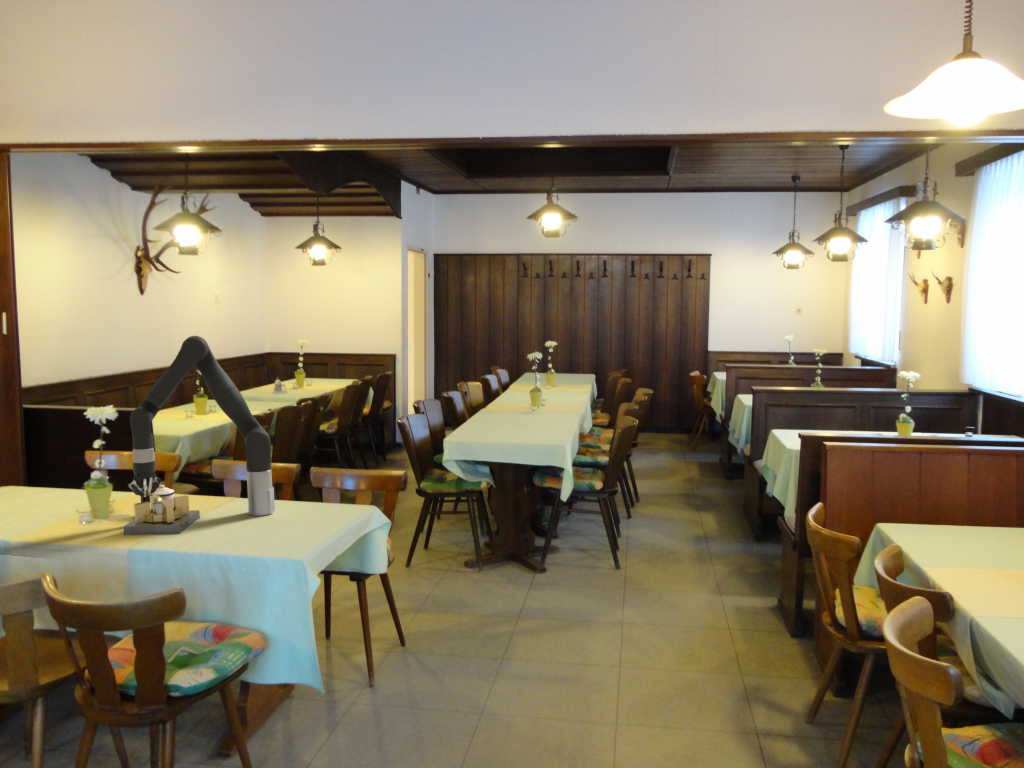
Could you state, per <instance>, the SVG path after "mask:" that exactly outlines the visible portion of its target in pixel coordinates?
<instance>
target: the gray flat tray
mask: <svg viewBox="0 0 1024 768" xmlns="http://www.w3.org/2000/svg"><path fill="white" fill-rule="evenodd" d="M164 502H170V503H171V501H169V500H162V501H156V502H154V503H153V513H154V514H163V511H162V503H164ZM200 513H201V512H200V509H197V510H196V509H195V510H193V509H192V510H189V513H187V514H182V516H181V517H179V518H177V519H174V522H169V523H167V522H165V521H163V522H147V521H143V522H135V518H134V519H133V520H131V521H130V522H128V523H127V524H124V526H123V535H125V536H127V535H131V536H132V535H158V534H159V535H163V534H166V535H167V534H168V535H169V534H171V535H172V534H181V533H183V532H184V531H186V530H187V529H188V528H189V527H191V526H192V525H193V524H195V522H197V521H198V520H199V519H201V514H200Z"/></svg>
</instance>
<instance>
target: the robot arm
mask: <svg viewBox="0 0 1024 768" xmlns="http://www.w3.org/2000/svg"><path fill="white" fill-rule="evenodd" d="M194 366H195V367H196V368H197V370H198V371H199V372H200V374H201V376H202V378H203V380H204V382H205V385H206V387H207V389H208V391H209V393H210V395H211V396H212V398H213V400H214V401H215V403H216V404H217V405H218V407H219V409H221V411H222V412H223V413H224V414H225V415H226V416H227V418H229V419H230V421H232V423H233V424H234V425H235V427H236V429H238V431H239V433H240V435H241V437H242V438H243V441H244V443H245V456H246V457H245V458H246V464H245V465H246V484H247V487H246V489H247V504H248V515H250V516H253V517H255V516H256V517H258V516H259V517H260V516H261V517H262V516H267V515H268V516H269V515H272V514H273V513H274V512H275V511H276V507H275V491H274V490H275V487H274V486H273V479H272V478H273V475H272V474H273V473H272V444H271V443H272V442H271V438H270V435H269V433H268V432H267V431H266V429H265V428H264V427H263V426H262V425H261V424H260V423H259V422H258V420H257V419H256V418H255V416H253V414H252V412H251V410H250V408H249V406H248V404H247V402H246V400H245V398H244V397H243V395H242V393H241V392H240V390H239V389H238V387H237V386H236V384H235V383H234V382H233V380H232V378H230V376H229V374H227V372H225V370H224V369H223V368H222V367H221V365H220V364H219V362H218V361H217V359H216V357H215V355H214V353H213V352H212V350H211V348H210V345H209V344H208V342H207V340H205V338H204V337H202V336H199V335H192V336H189V337H187V338H186V339H185V340H184V341H182V344H181V347H180V349H179V350H178V353H177V355H176V356H175V358H174V360H173V361H172V362H171V364H170V365H169V367H168V368H167V369H166V370H165V371H164V373H163V374H161V376H160V377H159V378H158V379H157V381H155V383H153V386H152V387H151V388H150V389H149V391H148V392H147V393H146V395H145V398H144V399H143V400H142V402H141V403H140V404H139V405H138V406H137V407H136V408H135V409H134V410H132V412H130V416H129V424H130V428H131V429H130V430H131V434H132V471H133V477H132V482H131V483H130V482H129V483H127V487H128V488H129V489H130V491H132V492H133V494H134V495H135V496H140V503H142V502H149V503H150V504H151V501H150V495H151V494H152V493H154V492H155V491H156V489H157V488H159V485H161V481H162V479H161V478H159V477H158V476H157V475H156V473H155V472H156V454H155V448H154V445H155V444H154V435H153V433H152V426H151V423H152V421H153V420H154V418H155V417H156V415H157V414H158V413H159V412H160V410H161V408H162V407H163V406H164V405H165V404H166V402H167V401H168V400H169V399H170V397H171V396H172V395H173V393H174V392H175V390H176V389H177V388H178V386H179V385H180V383H181V382H182V380H183V379H184V377H185V376H186V375H187V373H189V371H191V370H192V368H193V367H194Z"/></svg>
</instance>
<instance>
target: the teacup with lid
mask: <svg viewBox="0 0 1024 768" xmlns="http://www.w3.org/2000/svg"><path fill="white" fill-rule="evenodd" d="M153 495H158V496H160V497H161V501H162V500H169V501H171V503H172V504H173V506H174V503H173V497H175V490H174V489H172V488H169V487H166V486H165V485H164V484H159V486H158V487H157V489H156V491H155V492H154V493H152V494H151V495H150V502H151V496H153Z"/></svg>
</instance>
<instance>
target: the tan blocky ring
mask: <svg viewBox="0 0 1024 768" xmlns="http://www.w3.org/2000/svg"><path fill="white" fill-rule="evenodd" d="M156 501H161V497H160V496H158V495H153V496H151V501H150V503H149V502H142V503H141V502H137V503H133V508H134V509H133V510H134V511H133V513H134V519H135V522H143V521H147V522H163V521H165V522H167V523H169V522H174V519H177V518H179V517H181V516H182V514H187V513H189V511H190V506H189V505H190V500H189V495H187V494H185V495H178V496H174V497H173V503H174V506H173V504H172V503H170V502H164V503H162V511H163V514H154V513H153V503H154V502H156Z"/></svg>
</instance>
